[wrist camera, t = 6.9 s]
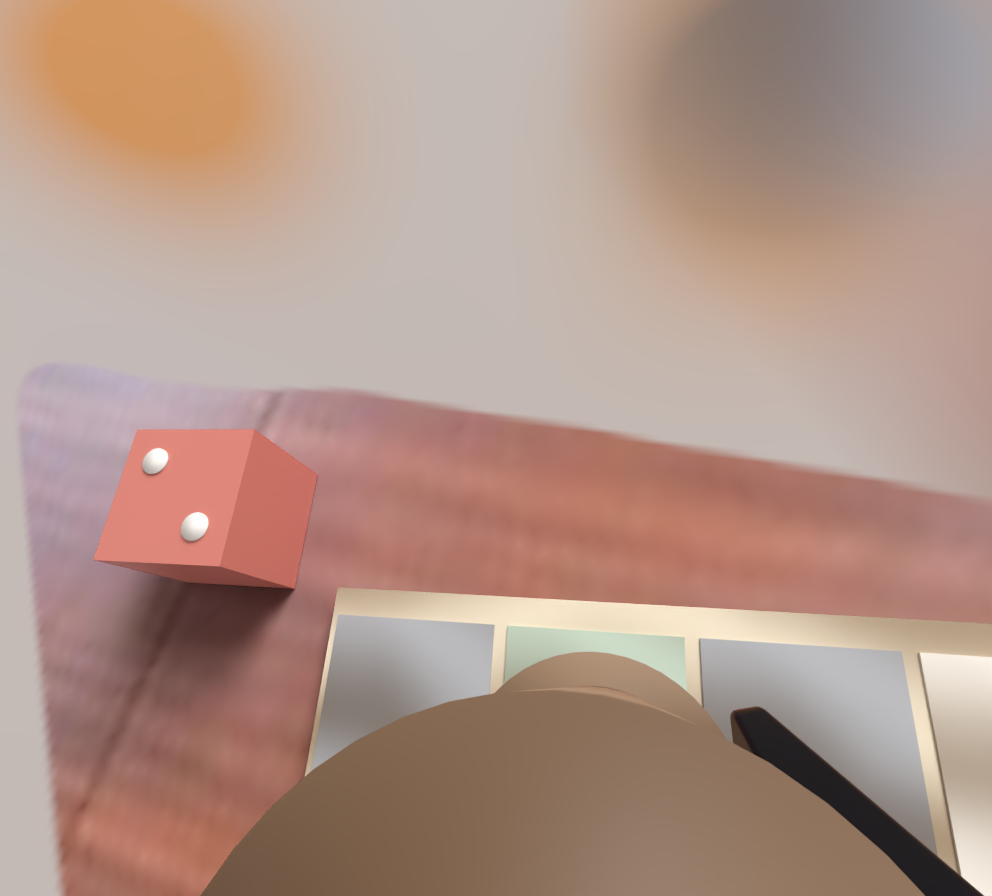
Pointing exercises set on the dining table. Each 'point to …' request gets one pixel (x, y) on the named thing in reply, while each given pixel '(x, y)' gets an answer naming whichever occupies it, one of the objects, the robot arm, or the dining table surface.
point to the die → (210, 509)
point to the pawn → (556, 804)
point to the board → (706, 686)
